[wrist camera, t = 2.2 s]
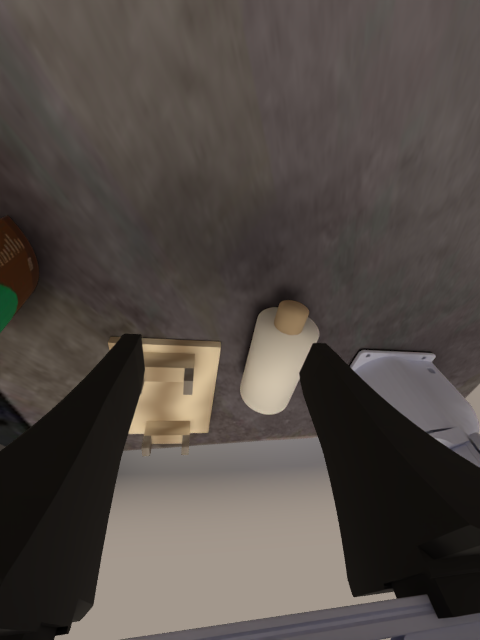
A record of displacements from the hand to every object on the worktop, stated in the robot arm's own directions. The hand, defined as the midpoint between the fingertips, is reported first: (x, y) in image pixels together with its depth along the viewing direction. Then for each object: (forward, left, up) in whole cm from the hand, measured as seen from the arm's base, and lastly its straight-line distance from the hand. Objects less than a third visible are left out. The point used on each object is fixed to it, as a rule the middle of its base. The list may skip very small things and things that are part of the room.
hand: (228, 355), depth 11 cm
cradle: (+4, +17, -10) cm, 20 cm away
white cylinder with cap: (-6, +9, -10) cm, 15 cm away
